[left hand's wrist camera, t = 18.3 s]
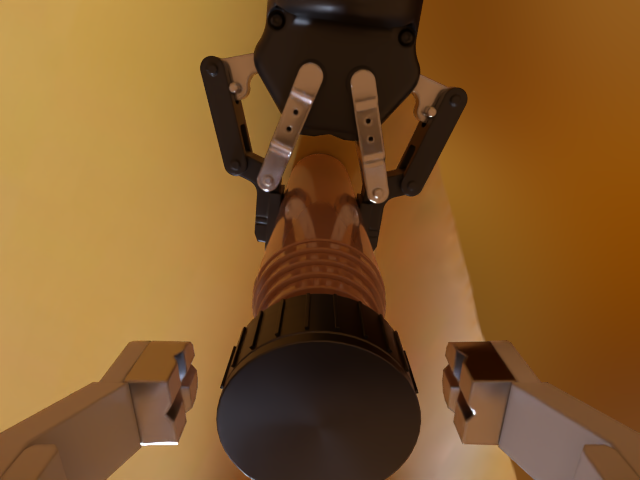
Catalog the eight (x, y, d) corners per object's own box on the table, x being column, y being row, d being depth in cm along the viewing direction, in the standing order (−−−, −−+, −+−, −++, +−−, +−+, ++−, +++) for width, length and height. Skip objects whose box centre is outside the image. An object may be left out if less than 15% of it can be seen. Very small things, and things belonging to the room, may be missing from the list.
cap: (293, 256, 9) (286, 298, 7) (441, 348, 10) (468, 406, 8) (201, 384, 11) (176, 446, 9) (339, 455, 11) (343, 526, 10)
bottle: (354, 205, 30) (430, 463, 10) (297, 218, 31) (250, 493, 10) (342, 147, 29) (402, 303, 8) (282, 160, 29) (190, 345, 8)
